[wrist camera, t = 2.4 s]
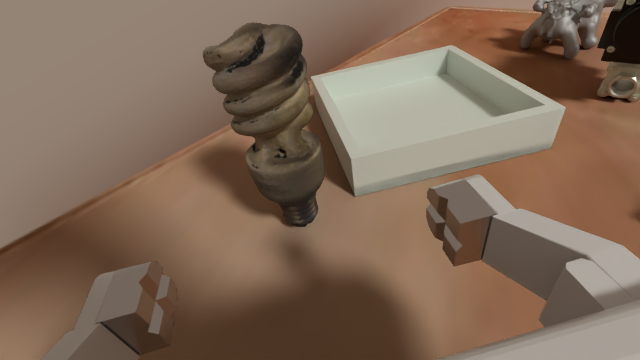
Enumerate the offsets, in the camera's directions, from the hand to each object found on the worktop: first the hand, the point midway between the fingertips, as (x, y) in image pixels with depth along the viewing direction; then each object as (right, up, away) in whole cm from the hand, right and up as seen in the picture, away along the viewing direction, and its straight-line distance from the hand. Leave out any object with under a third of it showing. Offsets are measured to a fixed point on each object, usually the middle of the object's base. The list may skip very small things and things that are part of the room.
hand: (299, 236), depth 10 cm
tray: (+11, +8, +25) cm, 29 cm away
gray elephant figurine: (+35, +21, +36) cm, 54 cm away
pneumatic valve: (+32, +11, +24) cm, 41 cm away
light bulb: (-1, -2, +17) cm, 17 cm away
